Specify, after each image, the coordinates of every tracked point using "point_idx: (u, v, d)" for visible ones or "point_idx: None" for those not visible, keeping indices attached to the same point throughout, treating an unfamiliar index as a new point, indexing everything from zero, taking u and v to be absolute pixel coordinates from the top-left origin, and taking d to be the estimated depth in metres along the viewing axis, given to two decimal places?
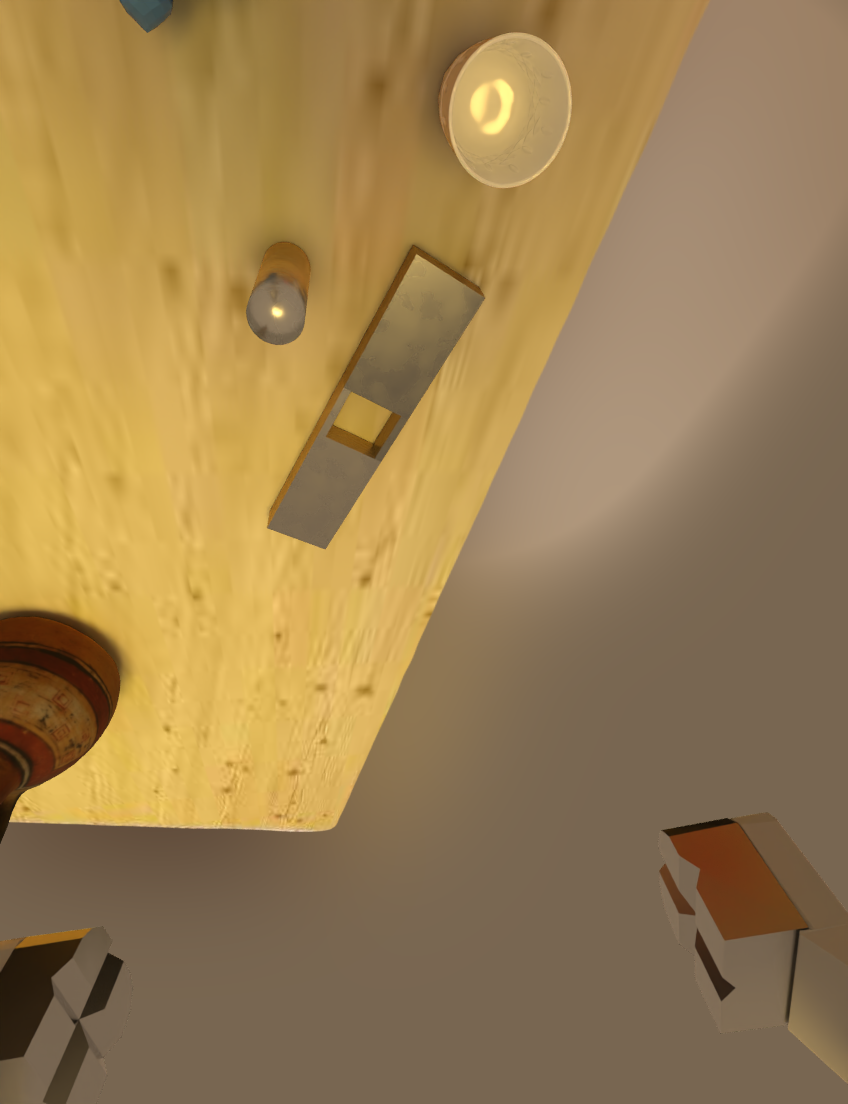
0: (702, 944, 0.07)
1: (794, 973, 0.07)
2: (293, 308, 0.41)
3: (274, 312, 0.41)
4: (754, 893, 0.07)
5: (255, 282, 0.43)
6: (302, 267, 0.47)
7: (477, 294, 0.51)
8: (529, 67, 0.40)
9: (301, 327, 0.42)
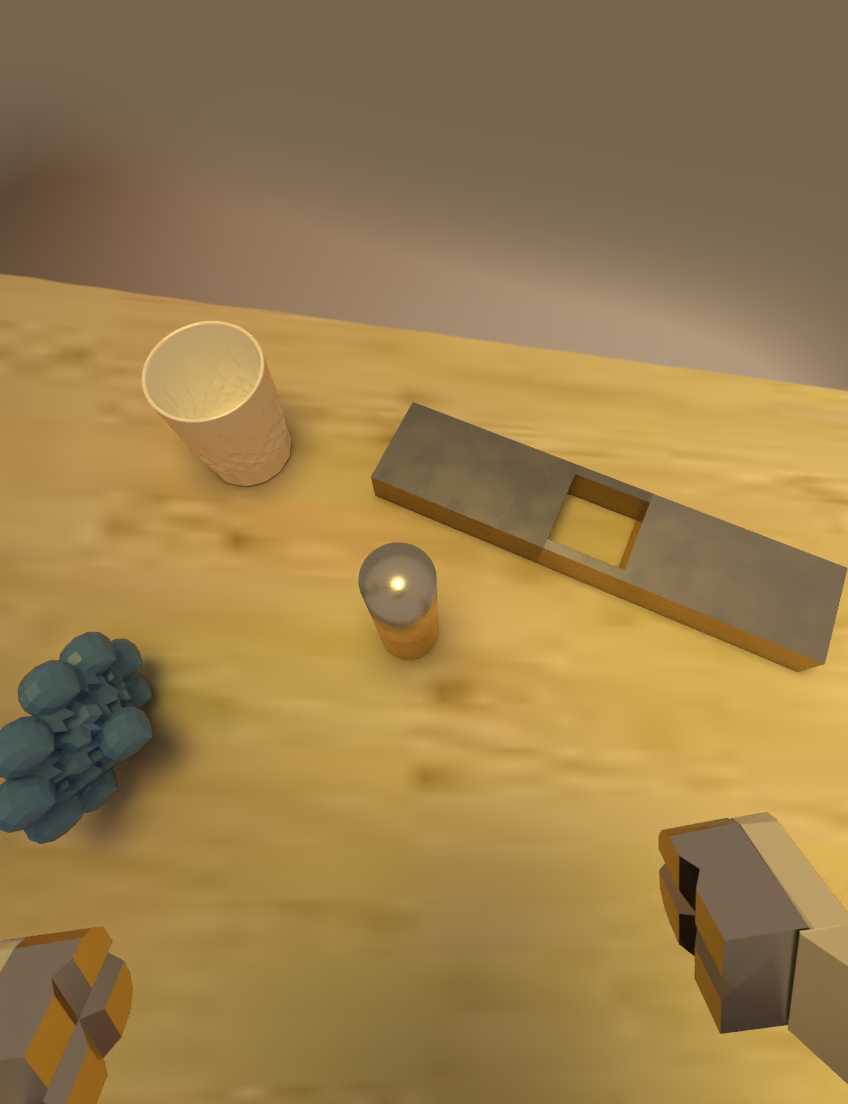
0: (702, 944, 0.07)
1: (794, 973, 0.07)
2: (384, 556, 0.31)
3: (392, 580, 0.30)
4: (754, 893, 0.07)
5: (383, 628, 0.33)
6: None
7: (409, 410, 0.44)
8: (201, 394, 0.44)
9: (409, 546, 0.31)
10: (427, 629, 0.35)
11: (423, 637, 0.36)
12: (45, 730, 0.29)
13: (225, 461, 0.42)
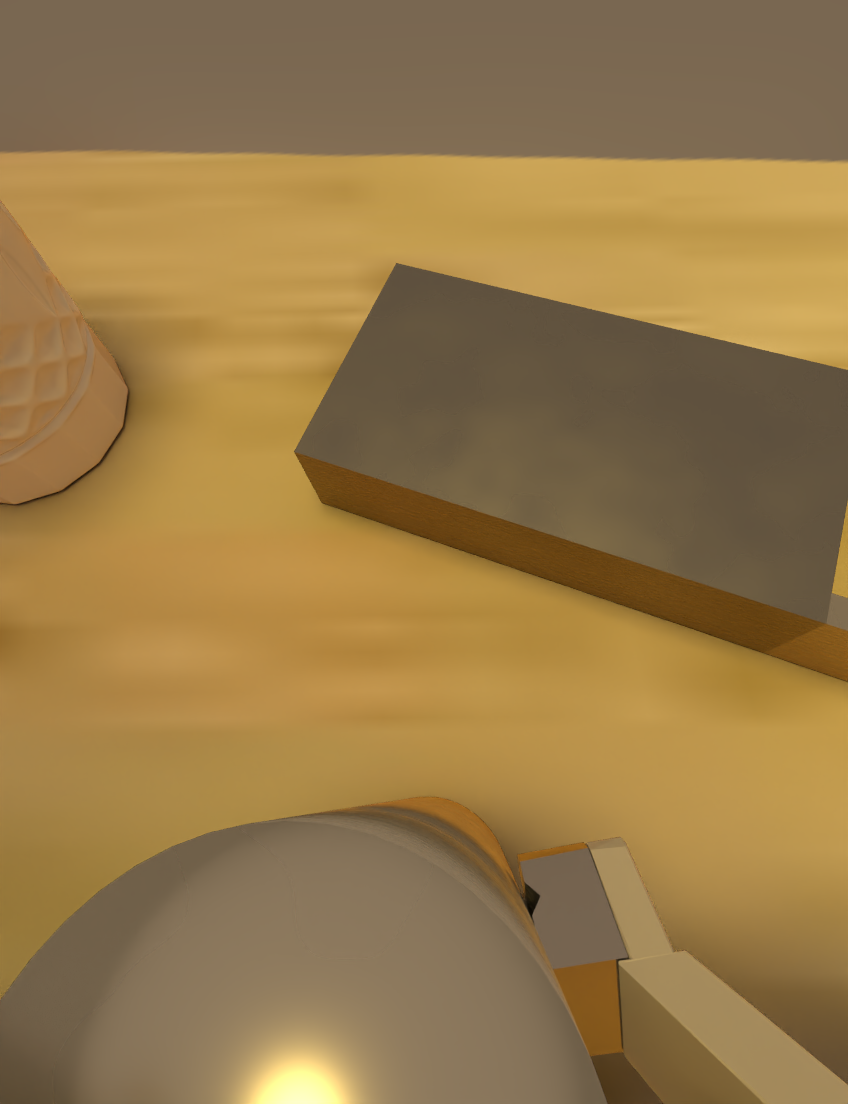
0: None
1: (621, 1002, 0.07)
2: (162, 960, 0.04)
3: None
4: (585, 921, 0.07)
5: None
6: None
7: (389, 282, 0.18)
8: None
9: (364, 855, 0.04)
10: None
11: None
12: None
13: None
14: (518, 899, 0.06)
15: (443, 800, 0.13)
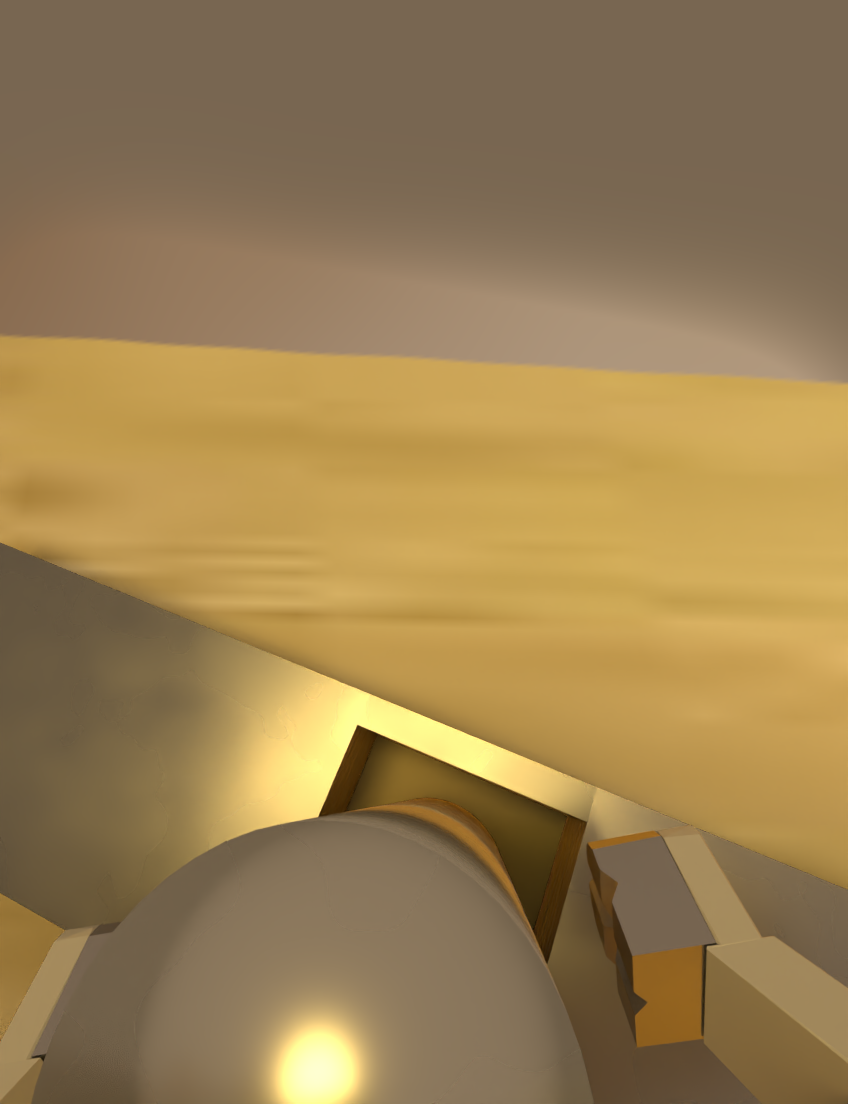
0: None
1: (705, 987, 0.07)
2: (220, 933, 0.05)
3: None
4: (668, 907, 0.07)
5: None
6: None
7: None
8: None
9: (383, 848, 0.05)
10: None
11: None
12: None
13: None
14: (510, 889, 0.07)
15: (442, 801, 0.14)
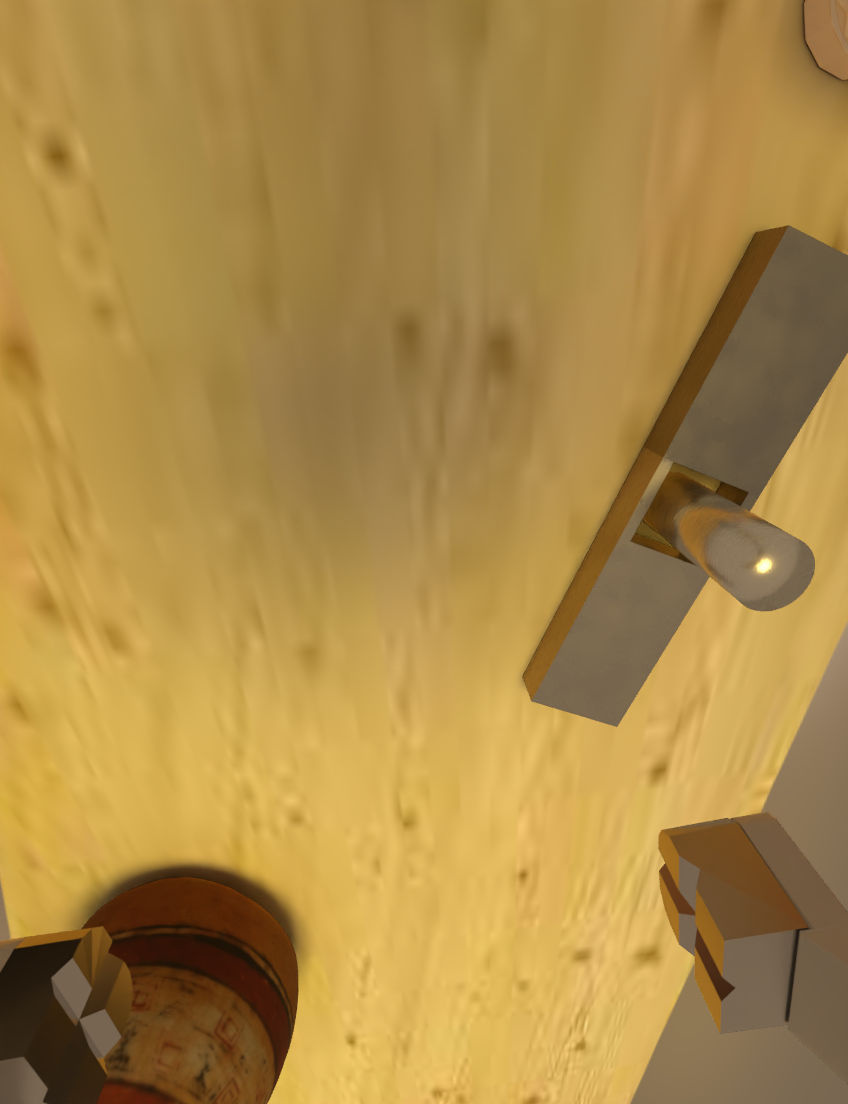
0: (702, 944, 0.07)
1: (794, 972, 0.07)
2: (801, 560, 0.28)
3: (773, 569, 0.29)
4: (754, 893, 0.07)
5: (702, 530, 0.32)
6: None
7: None
8: None
9: (807, 583, 0.29)
10: (690, 560, 0.34)
11: (678, 549, 0.35)
12: None
13: None
14: None
15: None
